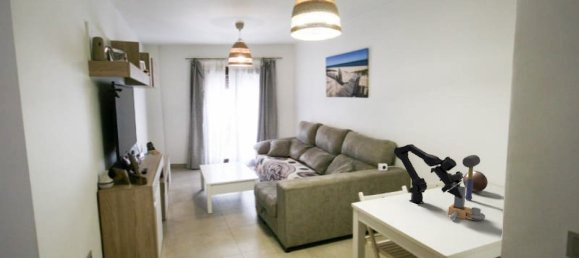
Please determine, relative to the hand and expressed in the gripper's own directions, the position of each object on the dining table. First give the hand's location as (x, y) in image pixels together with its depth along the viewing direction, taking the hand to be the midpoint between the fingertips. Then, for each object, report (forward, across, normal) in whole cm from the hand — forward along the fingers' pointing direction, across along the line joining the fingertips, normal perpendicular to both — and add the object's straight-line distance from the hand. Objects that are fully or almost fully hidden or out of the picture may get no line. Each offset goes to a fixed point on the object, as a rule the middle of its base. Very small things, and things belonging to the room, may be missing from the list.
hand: (462, 197), depth 175 cm
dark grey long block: (+4, 0, +6) cm, 7 cm away
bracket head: (+10, -4, +5) cm, 12 cm away
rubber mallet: (+5, +32, +11) cm, 34 cm away
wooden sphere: (+3, +55, +13) cm, 57 cm away
